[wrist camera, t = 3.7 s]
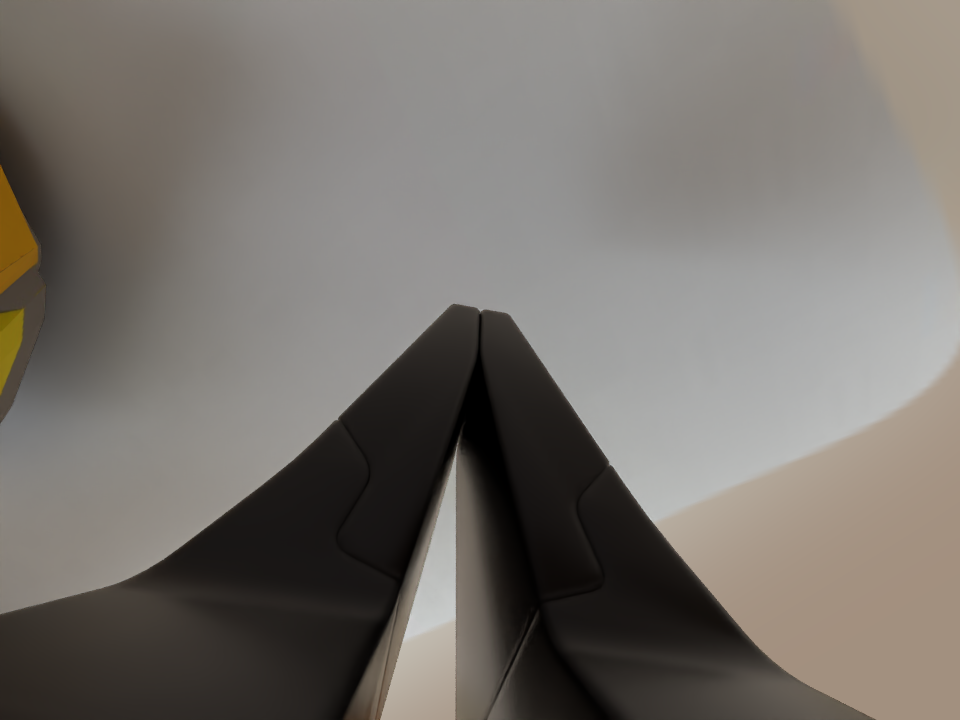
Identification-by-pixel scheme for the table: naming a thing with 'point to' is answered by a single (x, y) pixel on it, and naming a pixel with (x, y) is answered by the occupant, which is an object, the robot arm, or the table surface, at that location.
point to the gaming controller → (17, 294)
